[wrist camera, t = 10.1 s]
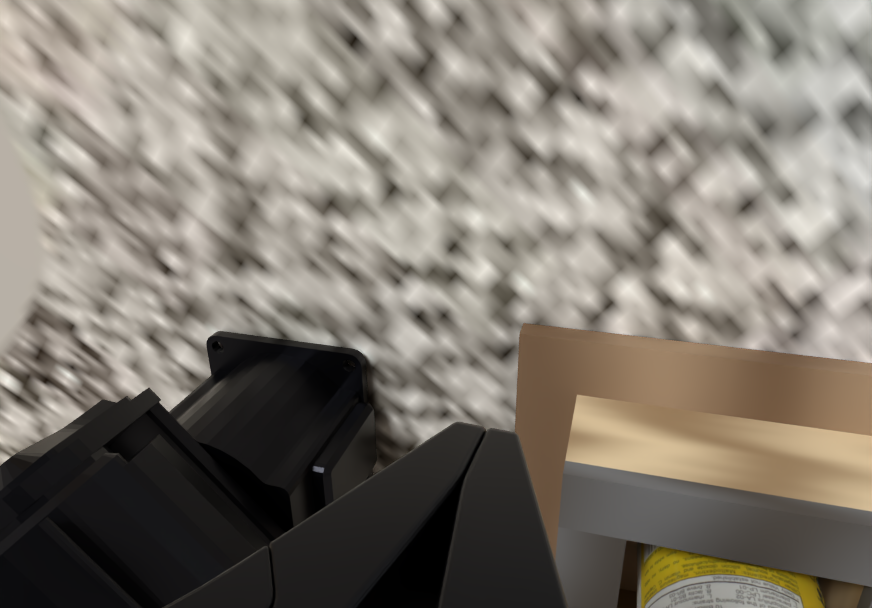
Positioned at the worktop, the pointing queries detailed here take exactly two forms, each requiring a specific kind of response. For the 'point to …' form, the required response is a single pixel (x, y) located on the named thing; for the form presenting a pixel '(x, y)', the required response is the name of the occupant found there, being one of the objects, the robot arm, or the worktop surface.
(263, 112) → the worktop surface
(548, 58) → the worktop surface
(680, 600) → the supplement bottle
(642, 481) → the socket
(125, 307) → the worktop surface
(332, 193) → the worktop surface
